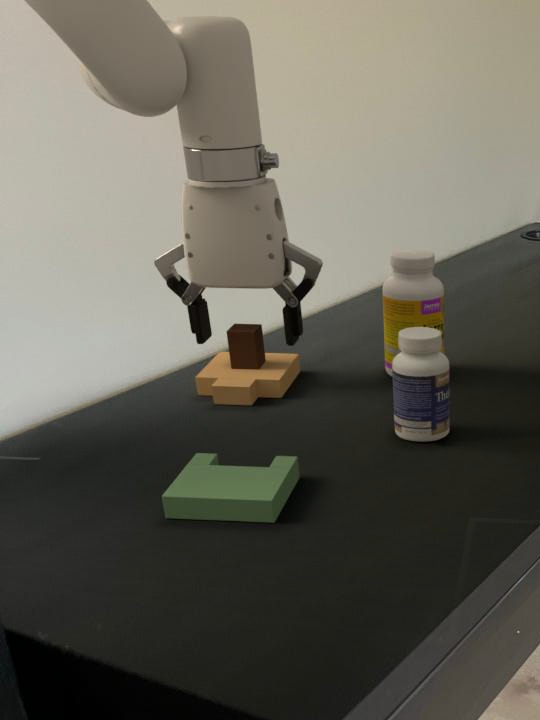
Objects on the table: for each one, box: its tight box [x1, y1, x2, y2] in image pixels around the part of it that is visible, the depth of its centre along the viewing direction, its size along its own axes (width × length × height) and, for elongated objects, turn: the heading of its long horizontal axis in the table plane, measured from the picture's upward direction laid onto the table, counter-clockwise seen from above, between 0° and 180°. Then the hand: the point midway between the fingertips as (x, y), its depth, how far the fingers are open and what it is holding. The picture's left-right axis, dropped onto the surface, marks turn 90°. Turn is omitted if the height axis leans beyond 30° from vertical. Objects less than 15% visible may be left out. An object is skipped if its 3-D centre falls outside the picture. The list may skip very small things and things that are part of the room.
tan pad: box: [194, 323, 301, 406], centre depth 105 cm, size 9×12×6 cm
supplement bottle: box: [382, 248, 445, 377], centre depth 108 cm, size 7×7×13 cm
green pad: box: [161, 452, 301, 524], centre depth 83 cm, size 9×9×2 cm
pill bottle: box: [391, 327, 451, 443], centre depth 93 cm, size 5×5×10 cm
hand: (248, 341), depth 106 cm, fingers open, 9 cm apart
